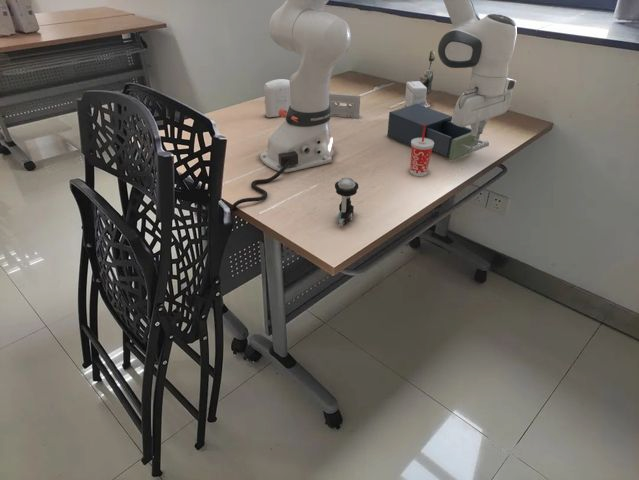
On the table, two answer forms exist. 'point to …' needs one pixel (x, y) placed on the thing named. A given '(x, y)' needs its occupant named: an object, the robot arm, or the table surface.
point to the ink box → (415, 93)
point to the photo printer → (276, 96)
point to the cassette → (344, 110)
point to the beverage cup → (420, 155)
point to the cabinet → (413, 122)
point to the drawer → (453, 140)
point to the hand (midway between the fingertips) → (476, 134)
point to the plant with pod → (428, 77)
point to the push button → (346, 198)
